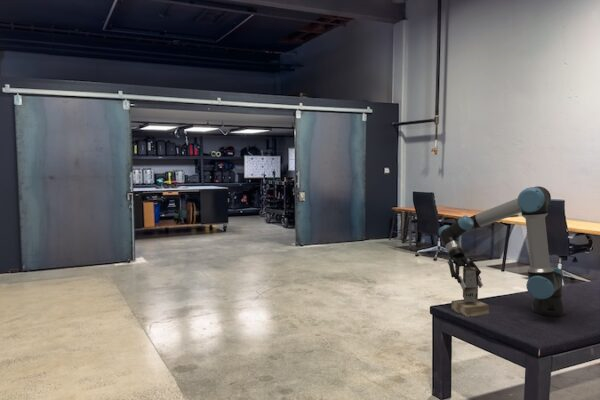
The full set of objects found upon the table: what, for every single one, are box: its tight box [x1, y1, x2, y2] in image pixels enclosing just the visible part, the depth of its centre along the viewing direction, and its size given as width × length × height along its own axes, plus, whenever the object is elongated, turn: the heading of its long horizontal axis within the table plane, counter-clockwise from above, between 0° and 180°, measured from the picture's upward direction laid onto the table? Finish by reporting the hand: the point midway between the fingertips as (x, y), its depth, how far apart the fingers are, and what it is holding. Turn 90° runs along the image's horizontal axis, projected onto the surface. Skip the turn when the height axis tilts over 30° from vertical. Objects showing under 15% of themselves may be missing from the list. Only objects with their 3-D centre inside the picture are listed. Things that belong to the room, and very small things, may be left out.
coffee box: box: [462, 267, 479, 302], centre depth 247 cm, size 9×6×16 cm
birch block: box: [450, 298, 490, 318], centre depth 247 cm, size 13×13×5 cm
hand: (472, 287), depth 245 cm, fingers closed on coffee box, 9 cm apart
